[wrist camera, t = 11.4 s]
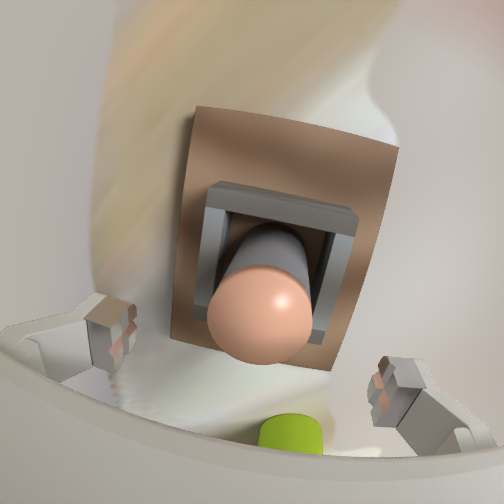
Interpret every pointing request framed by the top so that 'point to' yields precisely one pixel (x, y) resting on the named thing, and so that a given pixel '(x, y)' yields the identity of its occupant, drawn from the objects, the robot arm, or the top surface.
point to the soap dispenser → (292, 434)
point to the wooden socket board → (279, 215)
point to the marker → (264, 298)
